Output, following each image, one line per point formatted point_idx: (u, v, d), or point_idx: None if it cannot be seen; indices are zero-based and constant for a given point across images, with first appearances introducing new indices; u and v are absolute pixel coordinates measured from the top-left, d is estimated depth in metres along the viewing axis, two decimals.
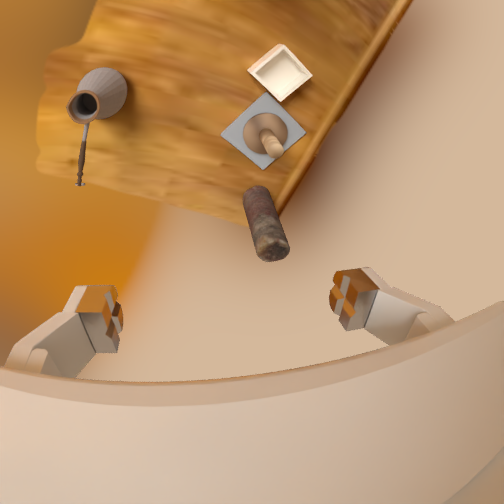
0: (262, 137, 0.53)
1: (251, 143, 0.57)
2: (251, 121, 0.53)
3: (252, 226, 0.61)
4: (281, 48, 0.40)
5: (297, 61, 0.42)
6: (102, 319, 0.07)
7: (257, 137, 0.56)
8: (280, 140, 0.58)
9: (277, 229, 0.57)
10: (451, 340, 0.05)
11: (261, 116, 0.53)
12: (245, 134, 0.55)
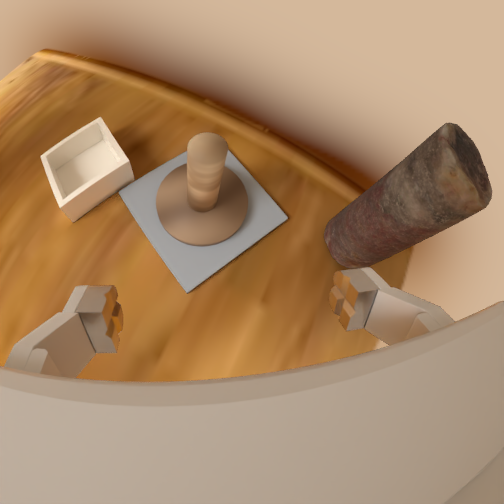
0: (194, 196, 0.25)
1: (217, 229, 0.28)
2: (165, 222, 0.27)
3: (413, 228, 0.19)
4: (43, 159, 0.23)
5: (70, 137, 0.25)
6: (102, 319, 0.07)
7: (205, 215, 0.28)
8: None
9: (415, 152, 0.17)
10: (451, 340, 0.05)
11: (159, 202, 0.27)
12: (192, 238, 0.27)
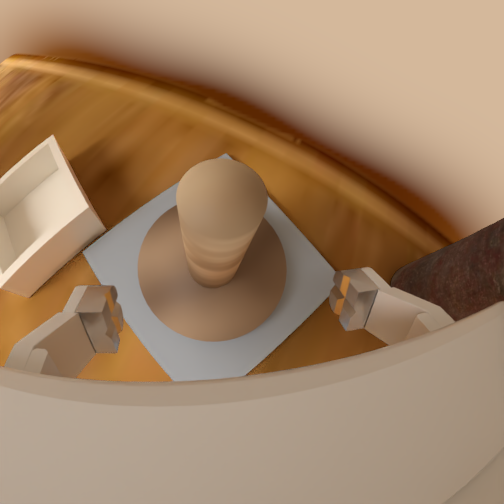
0: (199, 273, 0.14)
1: (241, 315, 0.17)
2: (156, 308, 0.16)
3: None
4: None
5: (13, 169, 0.14)
6: (102, 319, 0.07)
7: (220, 293, 0.17)
8: None
9: None
10: (451, 340, 0.05)
11: (143, 274, 0.17)
12: (202, 334, 0.16)
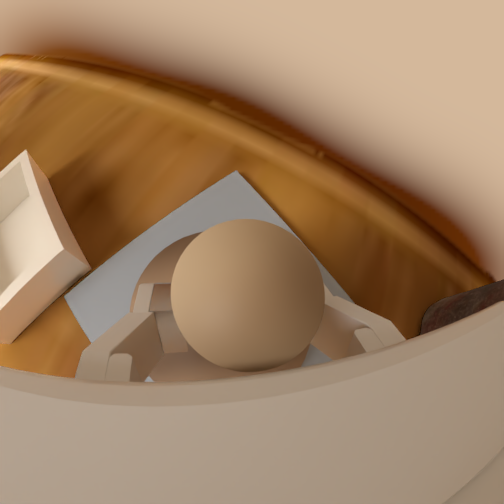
0: None
1: None
2: (155, 374, 0.12)
3: None
4: None
5: None
6: None
7: None
8: None
9: None
10: (451, 340, 0.05)
11: None
12: None
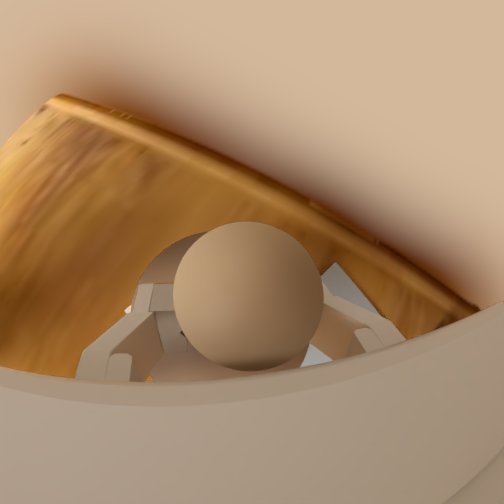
0: None
1: None
2: (156, 374, 0.12)
3: None
4: None
5: None
6: None
7: None
8: None
9: None
10: (451, 340, 0.05)
11: None
12: None
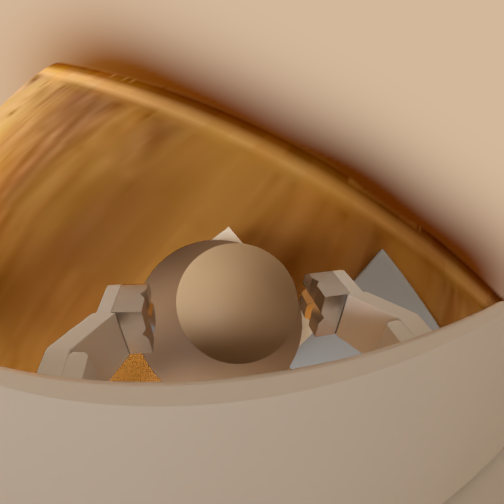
0: None
1: None
2: (159, 370, 0.14)
3: None
4: None
5: None
6: (141, 318, 0.07)
7: None
8: None
9: None
10: (451, 340, 0.05)
11: None
12: None
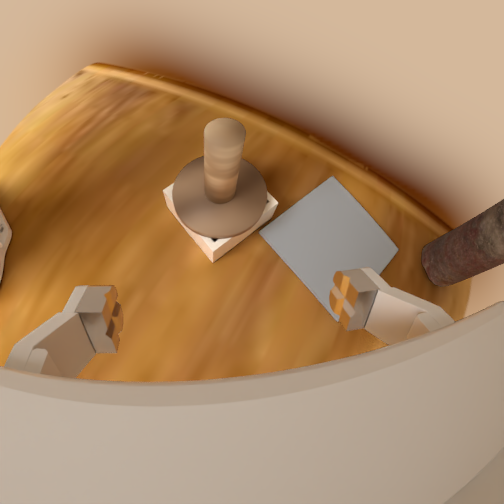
0: (212, 185, 0.24)
1: (237, 220, 0.27)
2: (183, 215, 0.26)
3: (496, 260, 0.22)
4: (169, 194, 0.28)
5: None
6: (102, 319, 0.07)
7: (224, 207, 0.27)
8: None
9: (502, 208, 0.20)
10: (451, 340, 0.05)
11: (176, 196, 0.27)
12: (212, 230, 0.26)
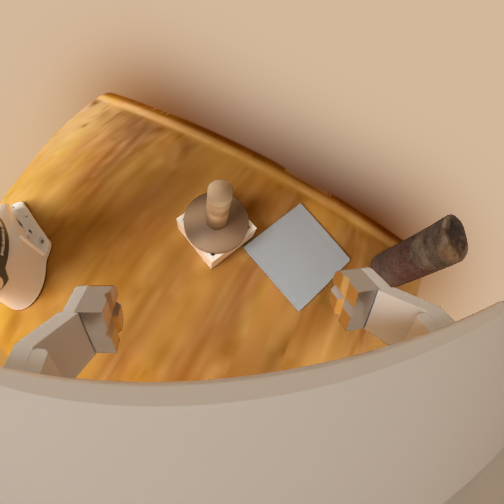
0: (211, 220, 0.38)
1: (228, 241, 0.40)
2: (191, 238, 0.40)
3: (424, 270, 0.36)
4: (181, 221, 0.41)
5: None
6: (102, 319, 0.07)
7: (219, 232, 0.41)
8: None
9: (428, 232, 0.34)
10: (451, 340, 0.05)
11: (186, 224, 0.40)
12: (211, 248, 0.40)
